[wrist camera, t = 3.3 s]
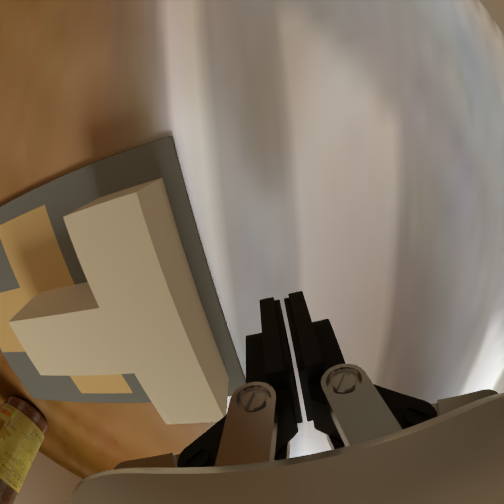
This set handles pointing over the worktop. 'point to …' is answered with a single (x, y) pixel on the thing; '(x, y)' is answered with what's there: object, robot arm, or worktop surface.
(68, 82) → the worktop surface
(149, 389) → the T block
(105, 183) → the mat
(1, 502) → the sauce bottle
